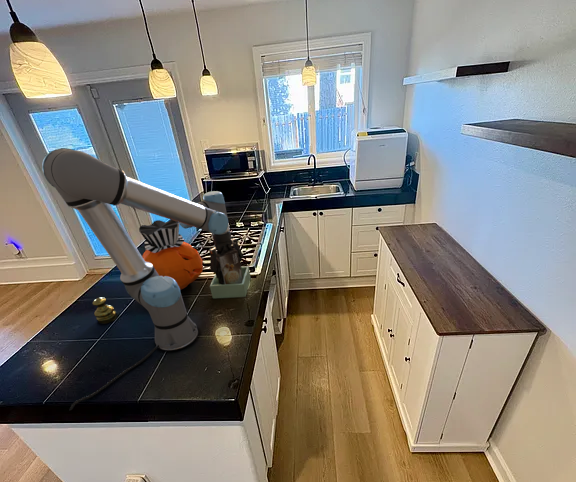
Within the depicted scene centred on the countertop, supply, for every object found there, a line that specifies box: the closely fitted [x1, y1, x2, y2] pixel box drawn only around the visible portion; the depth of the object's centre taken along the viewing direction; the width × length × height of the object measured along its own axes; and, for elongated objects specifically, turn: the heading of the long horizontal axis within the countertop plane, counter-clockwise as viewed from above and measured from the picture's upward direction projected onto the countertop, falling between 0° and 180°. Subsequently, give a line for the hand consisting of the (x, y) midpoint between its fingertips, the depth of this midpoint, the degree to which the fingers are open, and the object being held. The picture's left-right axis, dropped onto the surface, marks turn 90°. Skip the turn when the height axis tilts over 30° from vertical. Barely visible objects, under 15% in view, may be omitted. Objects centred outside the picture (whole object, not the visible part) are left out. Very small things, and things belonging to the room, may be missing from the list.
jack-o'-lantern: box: [138, 219, 204, 291], centre depth 142 cm, size 27×26×30 cm
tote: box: [209, 265, 252, 299], centre depth 142 cm, size 17×15×6 cm
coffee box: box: [216, 247, 243, 285], centre depth 138 cm, size 9×6×16 cm
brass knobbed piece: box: [92, 297, 118, 325], centre depth 127 cm, size 7×7×10 cm
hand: (230, 279), depth 141 cm, fingers closed on coffee box, 9 cm apart
